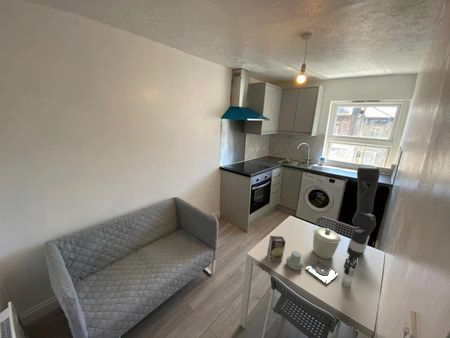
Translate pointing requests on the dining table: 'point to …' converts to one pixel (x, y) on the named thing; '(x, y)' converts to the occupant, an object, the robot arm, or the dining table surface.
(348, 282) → the duct stub
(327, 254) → the canister
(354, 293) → the dining table surface
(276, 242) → the coffee box
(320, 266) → the duct flange
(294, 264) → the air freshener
